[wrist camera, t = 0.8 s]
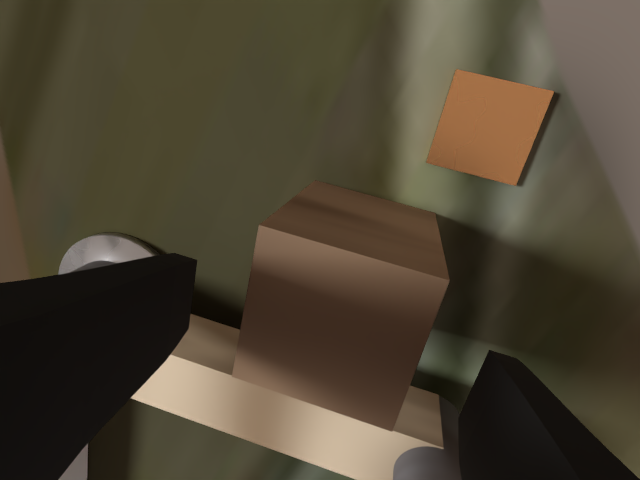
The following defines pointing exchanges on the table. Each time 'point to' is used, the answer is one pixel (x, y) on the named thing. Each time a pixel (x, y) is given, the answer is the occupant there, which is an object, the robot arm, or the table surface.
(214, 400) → the crank
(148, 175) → the table surface
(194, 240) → the table surface
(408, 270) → the block
